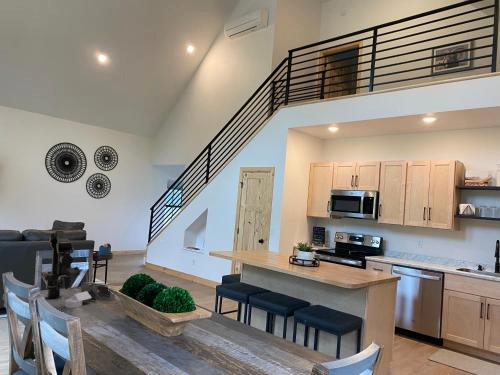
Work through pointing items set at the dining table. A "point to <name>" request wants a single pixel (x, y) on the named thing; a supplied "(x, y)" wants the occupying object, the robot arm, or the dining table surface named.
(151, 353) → the dining table surface
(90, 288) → the gauge plunger
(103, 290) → the gauge housing
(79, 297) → the wedge on round base
